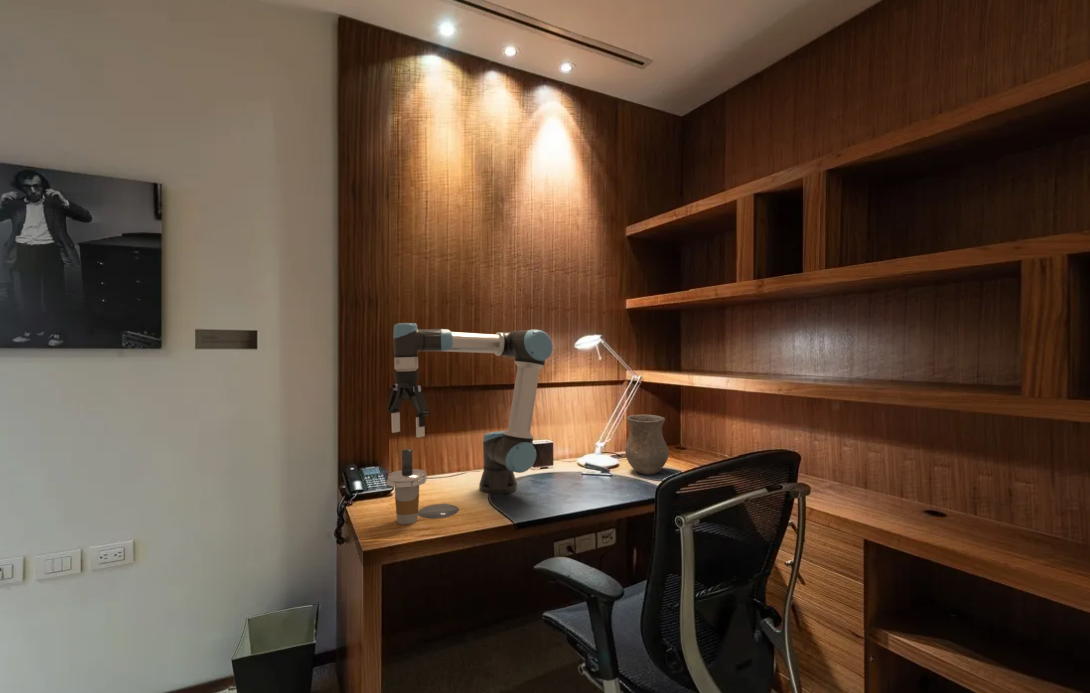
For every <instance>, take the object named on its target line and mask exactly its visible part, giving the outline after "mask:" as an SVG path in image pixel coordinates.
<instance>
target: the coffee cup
mask: <svg viewBox="0 0 1090 693" xmlns="http://www.w3.org/2000/svg"><path fill="white" fill-rule="evenodd" d="M419 498H420V485H417V486H414V487H402V488H395V487H394V500H395V502H394V504H395V512H396V522H397V524H399V525H411V524H413V523H416V522H418V520H419V519H418V517H419V515H418V511H419V504H420V502H419V501H420V499H419Z"/></svg>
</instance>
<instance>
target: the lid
mask: <svg viewBox="0 0 1090 693" xmlns="http://www.w3.org/2000/svg"><path fill="white" fill-rule="evenodd" d="M427 479H428V475H427V471H425V470H423V469H419V468H418V469H417V468H413V449H412V448H404V449H401V470H396V471H393V472H391V473H389V474H388V475H387V479H386V485H387V486H390V487H393V488H394V489H395V488H402V487H414V486H417V485H419V486H420V485H424V484H425V483H426V482H427Z"/></svg>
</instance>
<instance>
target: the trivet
mask: <svg viewBox="0 0 1090 693" xmlns="http://www.w3.org/2000/svg"><path fill="white" fill-rule="evenodd" d="M459 511H460V508H459V507H458V506H457V505H454V504H452V503H451V504H450V503H436V504H431V505H430V504H429V505H427V506H423V507H422V508H419V509H418V517H421V518H424V519H433V520H436V519H437V520H438V519H443V518H449V517H452V516H453V515H456V514H457V513H458V512H459Z"/></svg>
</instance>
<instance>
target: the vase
mask: <svg viewBox="0 0 1090 693" xmlns="http://www.w3.org/2000/svg"><path fill="white" fill-rule="evenodd" d="M626 420H627V422H628V424H629V428H630V429H629V435H628V438H627V442H626V444H625V450H624V452H625V457H626V461H627V462H628V464H629V465H630V467H631V468H632V469H633V470H634V471H636V472H637V473H639V474H641V475H654V474H657V473H659V472H660V471H661V469H663V468H664V466H665V465H666V463H667V461H668V459H669V456H670V451H669V450H670V448H668V445H667V443H666V441H665V438H664V436H663V435H664V434H663V431H662V430H663V429H662V428H663V426H664V422H665V420H666V418H665V417H663V416H660V415H657V414H656V415H655V414H631V415H628V416H627V417H626Z"/></svg>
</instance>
